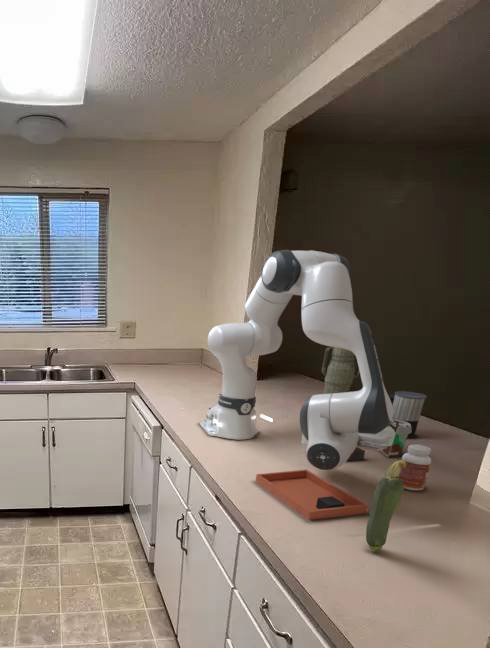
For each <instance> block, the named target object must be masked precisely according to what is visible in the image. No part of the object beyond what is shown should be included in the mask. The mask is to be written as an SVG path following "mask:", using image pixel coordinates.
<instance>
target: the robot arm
mask: <svg viewBox="0 0 490 648" xmlns="http://www.w3.org/2000/svg"><path fill="white" fill-rule="evenodd" d="M350 272H351V266H350V262H349V260H348V259H347V258H346V257H345V256H344V255H343V256H342V255H340V254H338V253H328V252H323V251H317V250H312V249H311V250H290V249H281V250H276V251H273V252H272V253H270V254H269V256H268V257H267V258H266V260H265V262H264V263H263V265H262V270H261V275H260V276H259V278H258V280H257V281H256V283H255V285H254V287H253V288H252V291H251V293H250V294H249V296H248V298H247V300H246V302H245V306H244V310H245V313H246V316H247V317H248V318H249V319H250V320H249V321H247V322H227V323H222V324H218V325H215V326H213V327H212V328H211V330H210V331H209V333H208V335H207V339H206V341H207V342H206V343H207V348H208V350H209V352H210V353H211V354H212V355H213V356H214V357H216V359H217V360H218V362H219V364H220V367H221V370H222V388H221V389H222V390H221V393H219V394H218V400H217V404H215V405H214V406H212V407H209V408H208V410H207V413H206V415H205V419H203V420H201V421H199V425H200V426H201V428H203V430H204V431H205V432H206V433H207V434H208V436H211V437H218V438H223V439H228V440H237V441H239V440H240V441H241V440H250V439H253V438H255V436H256V434H257V433H258V432H259V429H257V428H256V426H257V411H256V409H255V407H256V403H257V397H256V389H257V383H258V374H257V373H256V371H255V370H254V369H253V368H251V367H249V366H248V365H247V362H246V357H254V356H255V357H257V356H265V355H269V354H272V353H275V352H277V351H278V350H279V349H280V347H281V345H282V342H283V331H282V329H281V327H280V326H279V325H278V323H279V320H280V317H281V316H282V314H283V312H284V311H285V309H286V307H287V305H288V304H289V303H290V301H291V299H292V297H293V296H301V309H300V311H301V313H300V317H301V326H302V331H303V333H304V334H305V336H306V338H308V339H310V340H311V341H312V342H314V343H317V344H319V345H323V346H326V347H329V346H331V347H337V348H342V349H346V350H349V351H351V352H353V353H354V354H355V359H356V362H357V367H358V366H359V371H360V374H359V376H360V380H361V384H362V388H361V389H359V390H355V391H349V392H343V393H328V394H324V393H318V394H312V395H310V396H309V397H308V398H307V399H306V400H305V402H304V403H303V405H302V406H301V409H300V412H299V427H300V430H301V431H300V432H301V433H302V434H301V445H303V446H306V450H305V454H306V455H305V456H306V459H307V461H308V462H309V464H310V465H311V466H312V467H314V468H316V469H318V470H321V471H332V470H336V469H338V468H340V467H341V466H342V465H344V464H345V463H346V462H348V461H347V459H348V458H349V457H350V455H351V454H352V453H353V451H354V450H355V449H356V447H357V448H360V449H363V450H367V451H373V452H381V450H383V449H385V448H387V446H388V442H389V439H390V434H389V433H387V432H382V430H384V429H385V428H386V427H387V426H389V425H390V424H391V423H392V418H393V407H392V401H391V400H390V398H389V396H388V395H389V394H388V392H387V388H386V383H385V380H384V375H383V371H382V367H381V362H380V359H379V354H378V350H377V347H376V343H375V339H374V337H373V336H374V335H373V333H372V330H371V328H370V326H369V324H368V323H367V322H366V321H362V320H360V319H358V317H357V315H356V314H355V311H354V302H353V301H354V300H353V299H354V298H353V289H352V283H351V277H350ZM260 418H262V419H264V420H267V421H269V422H271V423H272V422H273V418H271V417H269V416H267V415H264V414H262V413H261V414H260Z"/></svg>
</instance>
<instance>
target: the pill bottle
mask: <svg viewBox="0 0 490 648" xmlns="http://www.w3.org/2000/svg"><path fill="white" fill-rule="evenodd" d="M431 452H432V448H431V447H428V446H425V445H421V444H409V445H408V447H407V452H405V453H404V454H402V457H401V460H405V461H406V462H407V463H406V468H404V467H403V465H401V471H400V474H399V475H400V476H397V477H399V478H400V479H401V480H402V482H403V486H404V489H405V490H409V491H423V490H424V489H425V486H426V482H427V479H428V475H429V472H430V467H431V465H432V458H431V457H430V455H431Z"/></svg>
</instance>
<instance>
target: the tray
mask: <svg viewBox="0 0 490 648" xmlns="http://www.w3.org/2000/svg"><path fill="white" fill-rule="evenodd" d="M255 482H256V483H258V484H259V485H260V486H262V488H264V489H265V490H267V491H268V492H269V493H271V494H273V495H274V496H275V497H276V498H277V499H279V500H281V501H282V502H283V503H285V504H286V505H288V506H289V507H290V508H291V509H293V510H294V511H295V512H297V513H299V514H300V515H301V516H302V517H304V519H306V520H308V521H312V520H319V519H328V518H336V517H345V516H353V515H363V514H367V513H368V509H369V507H370V506H369V504H367V503H366V502H364V501H363V500H361V499H360V498H359V499H358V498H357V497H355V496H354V495H351V494H350V493H349V492H347V491H345V490H343V489H341V488H339V487H338V486H336V485H334V484H333V483H332V482H329V481H327V480H325V479H324V478H322V477H320V476H319V475H317V474H315V473H314V472H312V471H311V470H308V469H298V470H287V471H286V470H285V471H277V472H267V473H256V475H255ZM330 496H333V497H334V498H336V499H338V500H339V501H341V502H342V503H344V504H345V505H344V507H335V508H326V509H318V508H317V507H316V504H317V499H318V498H321V497H330Z"/></svg>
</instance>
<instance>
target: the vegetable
mask: <svg viewBox="0 0 490 648" xmlns="http://www.w3.org/2000/svg"><path fill="white" fill-rule="evenodd" d="M406 463H407V462H406V461H405V460H402V459H399V460H396V461H394V463H392V464H391V465H390V466H389V467H388V469H387V472H386V473H387V475H384V476H382V477H381V478H380V479H379V480H378V481H377V483H376V487H375V490H374V494H373V498H372V504H371V508H370V512H369V516H368V520H367V522H366V523H367V524H366V530H365V541H366V543H367V546H368V548H369V549H370V551H371V552H372V553H374V552H375V551H377V550H378V551H379V550H381V549H383V546H385V544H386V542H387V537H388V533H389V529H390V523H391V520H392V517H393V514H394V513H395V511H396V509H397V508H398V507H399V504H400V502H401V500H402V497H403V496H404V495H403V494H404V489H405V488H404V486H403V482H402V480H401V479H400V478H399V477H397V476H400V475H399V474H400V471H401V465H403V467H404V468H406Z"/></svg>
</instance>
